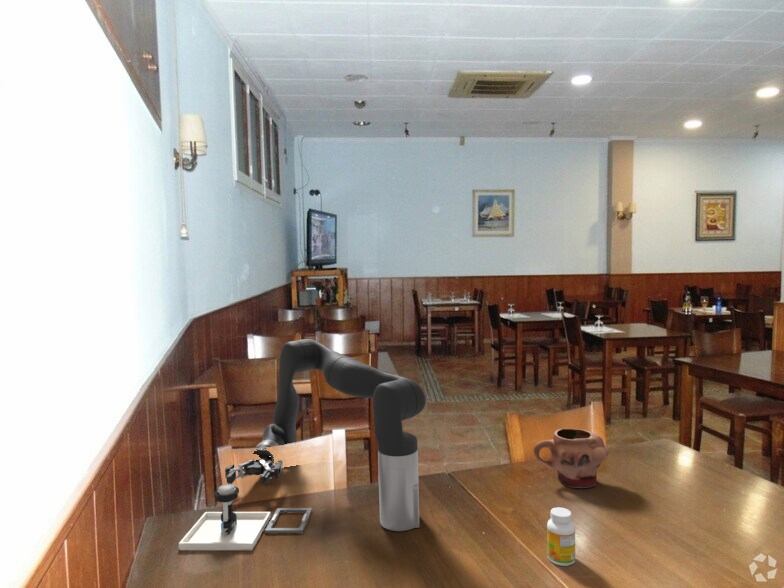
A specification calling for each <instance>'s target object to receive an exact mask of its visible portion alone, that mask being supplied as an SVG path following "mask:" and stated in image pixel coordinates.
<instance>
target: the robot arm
mask: <svg viewBox="0 0 784 588" xmlns="http://www.w3.org/2000/svg"><path fill="white" fill-rule="evenodd" d="M280 350H281V351H280V354H279V366H278V367H279V368H278V384H277V385H278V387H277V397H276V402H275V407H274V411H273V415H272V421H273V423H270V424H268V425H267V426H266V427H265V428H264V430H263V434H262V440H261V441H260V442H259V443H258V444H257V445H256V446H255V447H254V448H261V449H256V450H257V451H254V453H253V454H257V455H259V457H260V458H261V459H259V460H256V461H254V459H250V460H248V461H247V462H245V461H243V462H241V463H238V464H239V465H238V467H236V468H234V464H233V465H230V464H229V465H230V466H228V467H227V466H226V467H225V468H224V473H225V474H224V475H225V476H224V477H225V479H226V484H234V482H235V480H236V479H239V478H241V479H245V478H246V477H249V476H250V477H251V476H254V475H255V476H257V475H260V476H259V477H260V484H261V485H265V484H266V483H268V482H269V480H271V479H273V478H275V479H278V478H280V476H281V475H282V472H283V460H278V461H277V462H276V463H275V464H274V459H273V458H274V457H273V455H272V454H271V453H270V452H269V451H267V450H264V449H266V448H264V447H271V446H277V445H284V444H287V443H292V442H296V443H297V426H296V425H297V424H296V423H297V422H296V420H297V416H298V412H299V408H300V396H299V394H298V392H297V390H296V388H295V386H294V383H293V381H294V378H295V374H297V373H303V372H307V371H313V370H314V371H316V370H317V371H320V372H322V373H323V378H324V380H325V382H326V383H327V385H328V386H329V387H331V388H332V389H334V390H336V391H338V392H340V393H342V394H345V395H347V396H350V397H354V398H355V397H356V398H363V399H372V413H373V415H372V417H373V428H374V436H375V440H376V442H377V457H378V459H377V462H378V463H377V465H378V468H377V469H378V497H379V501H378V502H379V524H380V526H381V527H382V528H385V529H386V530H389V531H393V532H405V531H410V530H413V529H416V528H417V529H418V528H420V497H419V496H420V493H419V489H420V487H419V458H418V457H419V456H418V454H419V453H418V452H419V451H418V444H419V443H418V438H417V436H416V435H415V434H413V433H411V432H408V431H404V429H403V423H402V422H403V421H405V420H408V419H411V418H414V417H415V416H417V415H419V414H420V413H421V412H422V411H424V409H425V407H426V401H427V400H426V394H425V392H424V390H423V389H422V387H421V386H420V385H419V383H417V381H415V380H413V379H411V378H409V377H408V378H407V377H404V376H400V375H397V374H396V375H395V374H392V373H388V372H385V371H383V370H380V369H378V368H375V366H371V365H369V364H367V363H364V362H362V361H359V360H357V359H355V358H353V357H350V356H348V355H344V354H342V353H339V352H337V351H334V350H332V349H330V348H329V347H327V346H325V345H323V344H322V343H320V342H319V341H318V340H315V339H313V338H304V339H298V340H297V339H296V340H293V341H292V340H291V341H287V342H285V343H284V344H283V345H282V348H281V349H280ZM269 456H271V457H269ZM243 467H244V469H243ZM230 469H231V470H230ZM236 471H237V472H236ZM236 473H237V474H236ZM272 477H273V478H272Z"/></svg>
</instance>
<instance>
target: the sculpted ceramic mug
mask: <svg viewBox="0 0 784 588" xmlns="http://www.w3.org/2000/svg"><path fill="white" fill-rule="evenodd" d="M544 448H547V449H549V450H550V458H548V460H543V459H542V458H541V457H540V452H541V450H542V449H544ZM533 455H534V457H535V459H537V461H539V463H542V465H544V466H545V467H547V468H548V469H551V471H556V473H557V480H558V481H559V482H560V483H561V484H562V485H563V486H566V487H569V488H575V489H576V488H577V489H578V488H579V489H585V488H586V489H588V488H593V487H595V486H596V485H597V483H598V480H597V471H598V468H599V467H600V466H601V465H602V463H603V462H604V461H605V460H606V459H607V457H609V455H610V450H609V448H608V446H606V445H605V444H604V439H603V438H602V437H601V436H600V435H599V434H598V433H596V432H592V431H589V430H587V429H586V430H585V429H577V428H560V429H557V430H555V431H554V432H553V437H552V439H544V440H540V441H538V442H537V443H535V446H534V447H533Z"/></svg>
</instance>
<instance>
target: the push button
mask: <svg viewBox="0 0 784 588" xmlns="http://www.w3.org/2000/svg"><path fill="white" fill-rule="evenodd" d="M239 492H240V488H239V487H238V486H236V485H235V484H234V483H232V484H228V483H226V484H225V483H224V484H222V485H220V486H219V487H218V489H216V490H215V491H214V496H215V499H216V502H218V503H221V504H222V511H221V512H222V514H221V521H222V523H221V534H222V536H221V537H225V536H226V534H230V532H231V531H232V529H233V527H234V530H235V528H236V525H237V517H236V514H235V512H236V511H234V507H233V502H234V501H235V500H237V498H238V497H239ZM223 535H224V536H223Z"/></svg>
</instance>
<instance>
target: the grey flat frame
mask: <svg viewBox="0 0 784 588" xmlns="http://www.w3.org/2000/svg"><path fill="white" fill-rule="evenodd" d="M285 511H286V512H306V513H303V517H302V519H301V523H300V526H299V527H274V526H275V524H276V523H275V522H277V521H278V519H279V517H280V515H281V513H280V512H285ZM311 511H312V512H313V508H312V507H288V508H287V507H277V508H276V510H275V512H274V514H273V515H272V516H271V519H270V521H269V522H268V524H267V526H266V528H265V529H264V534H265V535H269V534H271V535H275V534H276V533H277V535H279V534H278V533H303V534H304V532H305V529H306V527H307V525H308V522H309V520H308V519H310V517H311V515H312V513H311ZM279 514H280V515H279ZM310 514H311V515H310ZM278 516H279V517H278ZM309 516H310V517H309ZM277 518H278V519H277ZM276 520H277V521H276ZM307 521H308V522H307ZM306 524H307V525H306ZM305 526H306V527H305ZM303 531H304V532H303ZM266 533H267V534H266ZM268 533H269V534H268Z"/></svg>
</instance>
